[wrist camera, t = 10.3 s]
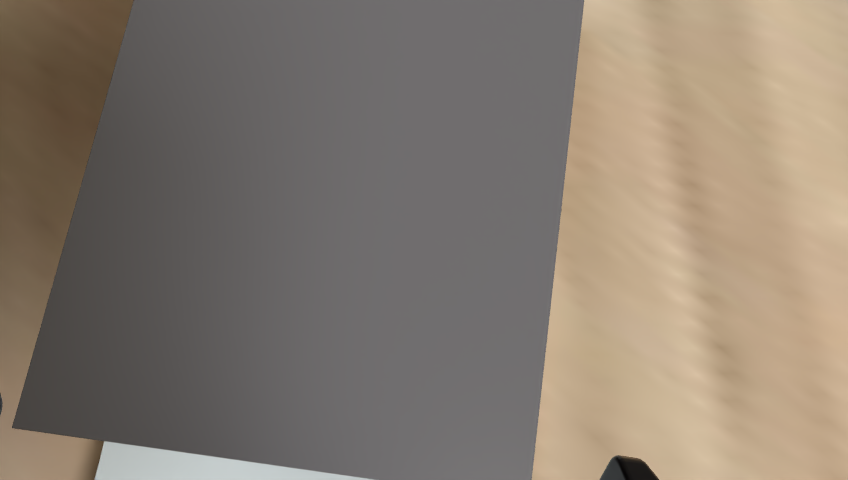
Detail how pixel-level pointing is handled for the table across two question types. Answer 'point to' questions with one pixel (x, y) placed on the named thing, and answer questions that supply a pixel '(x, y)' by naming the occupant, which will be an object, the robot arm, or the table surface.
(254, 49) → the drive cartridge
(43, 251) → the table surface
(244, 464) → the pin dock
